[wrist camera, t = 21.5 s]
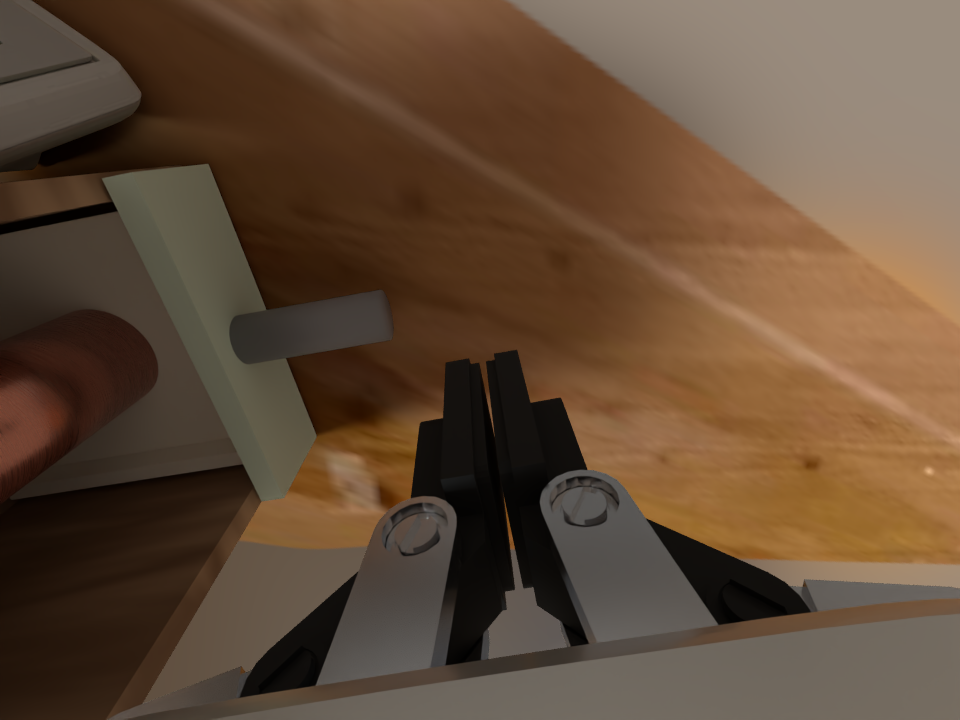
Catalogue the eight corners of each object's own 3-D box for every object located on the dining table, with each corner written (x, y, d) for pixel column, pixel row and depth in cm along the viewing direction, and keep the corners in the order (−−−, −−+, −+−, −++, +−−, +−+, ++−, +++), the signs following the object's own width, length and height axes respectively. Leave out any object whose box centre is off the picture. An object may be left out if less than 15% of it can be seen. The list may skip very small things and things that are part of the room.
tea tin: (135, 302, 23) (-94, 407, 14) (175, 399, 25) (1, 545, 16) (28, 312, 23) (-268, 423, 14) (77, 407, 25) (-151, 557, 16)
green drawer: (-99, 226, 23) (-252, 251, 18) (352, 134, 22) (315, 134, 17) (73, 474, 30) (-5, 540, 25) (429, 418, 28) (418, 478, 23)
